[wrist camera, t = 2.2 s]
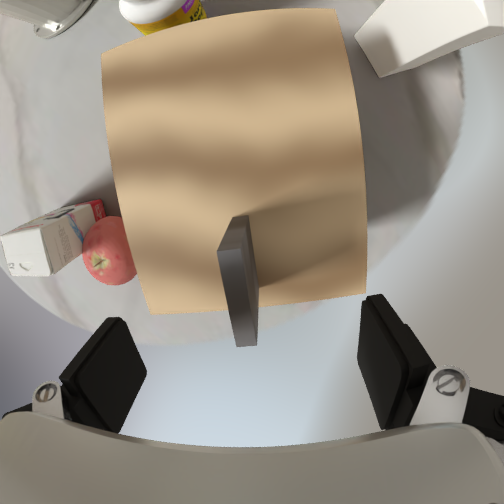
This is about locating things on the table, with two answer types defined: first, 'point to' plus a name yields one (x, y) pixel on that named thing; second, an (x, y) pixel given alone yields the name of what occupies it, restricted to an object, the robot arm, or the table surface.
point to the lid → (239, 163)
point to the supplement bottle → (160, 13)
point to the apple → (108, 252)
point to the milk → (426, 30)
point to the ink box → (50, 239)
